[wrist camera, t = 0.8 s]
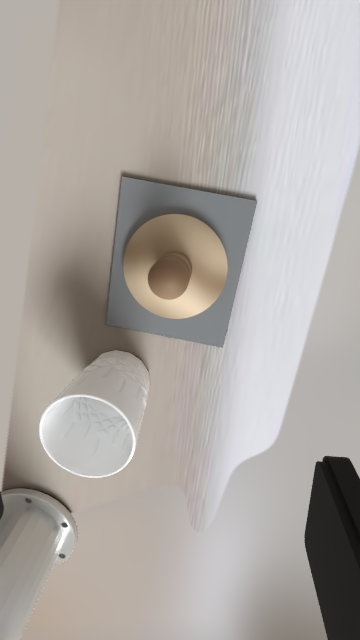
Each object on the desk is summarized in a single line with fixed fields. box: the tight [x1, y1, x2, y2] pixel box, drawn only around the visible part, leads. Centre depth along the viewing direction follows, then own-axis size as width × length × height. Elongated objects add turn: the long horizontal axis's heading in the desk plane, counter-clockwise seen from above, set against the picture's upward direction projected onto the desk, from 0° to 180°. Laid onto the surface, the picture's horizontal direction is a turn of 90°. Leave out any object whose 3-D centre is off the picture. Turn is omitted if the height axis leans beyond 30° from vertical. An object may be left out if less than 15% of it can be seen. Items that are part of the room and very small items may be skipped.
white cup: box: [39, 350, 150, 478], centre depth 31 cm, size 8×8×10 cm
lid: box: [123, 214, 228, 319], centre depth 28 cm, size 10×10×6 cm
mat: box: [106, 177, 257, 348], centre depth 31 cm, size 14×12×1 cm
